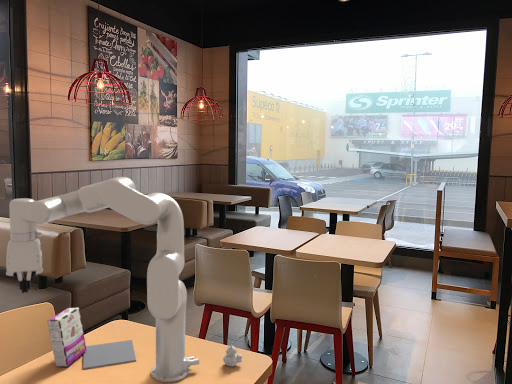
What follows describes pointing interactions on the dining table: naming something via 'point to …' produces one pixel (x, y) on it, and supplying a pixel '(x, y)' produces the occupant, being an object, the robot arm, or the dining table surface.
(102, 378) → the dining table surface
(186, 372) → the robot arm
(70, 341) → the candy bar box
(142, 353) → the dining table surface
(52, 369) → the dining table surface
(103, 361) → the mat
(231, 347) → the white lumpy figure
